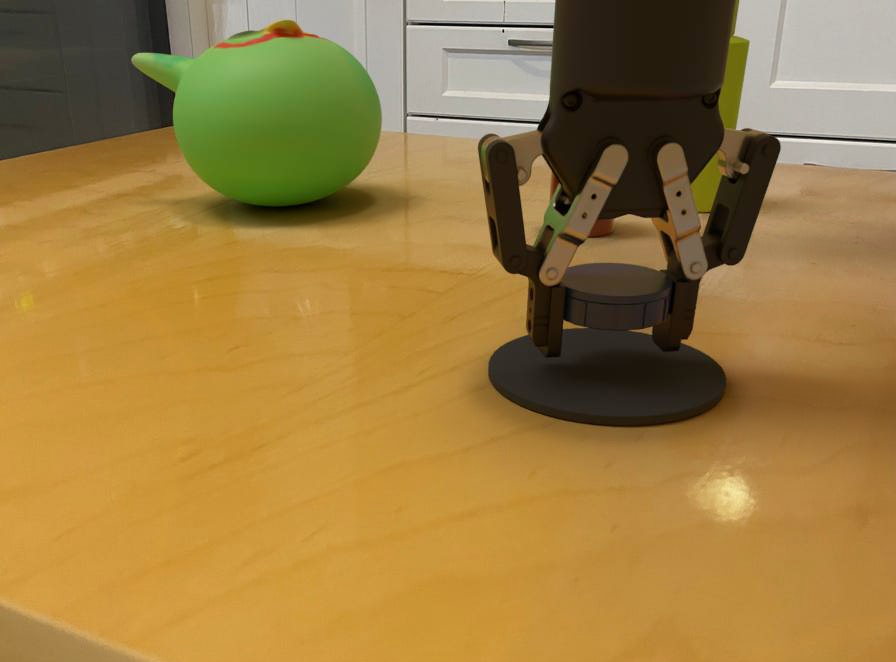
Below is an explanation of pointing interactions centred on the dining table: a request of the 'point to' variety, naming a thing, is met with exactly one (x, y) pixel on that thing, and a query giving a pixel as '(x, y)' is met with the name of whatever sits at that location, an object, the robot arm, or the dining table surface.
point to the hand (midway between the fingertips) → (607, 348)
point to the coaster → (608, 378)
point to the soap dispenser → (724, 116)
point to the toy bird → (272, 114)
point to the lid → (616, 296)
